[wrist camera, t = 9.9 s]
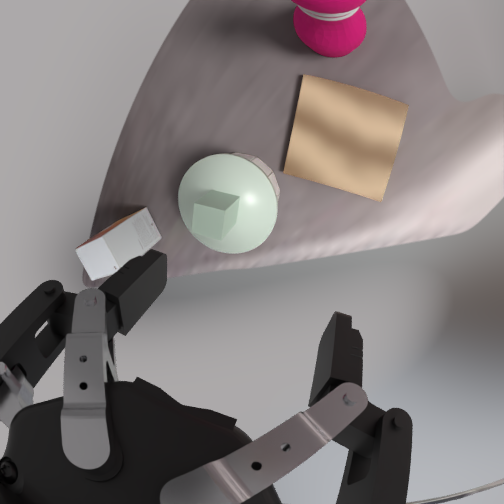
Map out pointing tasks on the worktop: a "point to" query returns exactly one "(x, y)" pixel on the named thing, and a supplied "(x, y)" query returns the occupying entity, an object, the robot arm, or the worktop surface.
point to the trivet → (345, 137)
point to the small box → (118, 244)
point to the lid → (228, 203)
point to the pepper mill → (330, 25)
